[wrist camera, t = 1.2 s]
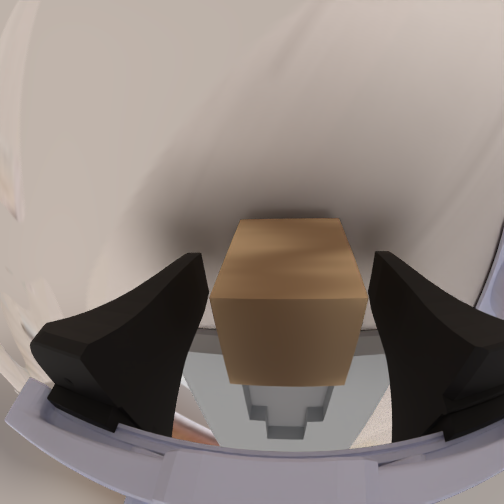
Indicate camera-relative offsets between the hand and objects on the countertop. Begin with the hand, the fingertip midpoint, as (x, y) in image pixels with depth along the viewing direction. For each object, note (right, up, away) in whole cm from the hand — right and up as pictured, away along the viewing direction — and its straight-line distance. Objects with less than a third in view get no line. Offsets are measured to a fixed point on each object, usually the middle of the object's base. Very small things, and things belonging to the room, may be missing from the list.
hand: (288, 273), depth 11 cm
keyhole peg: (0, +1, +2) cm, 2 cm away
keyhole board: (+2, -12, +9) cm, 15 cm away
